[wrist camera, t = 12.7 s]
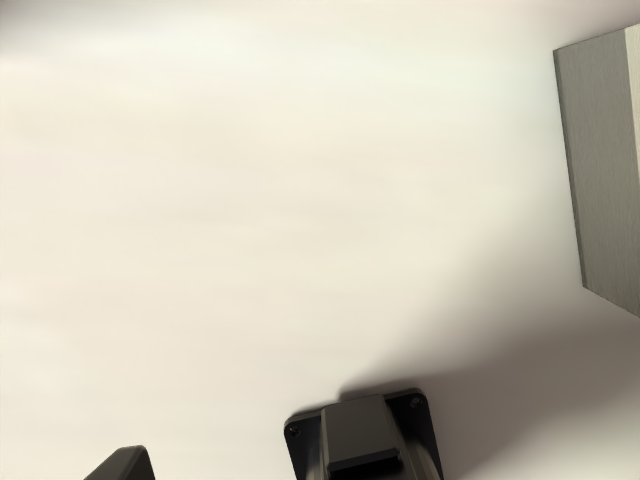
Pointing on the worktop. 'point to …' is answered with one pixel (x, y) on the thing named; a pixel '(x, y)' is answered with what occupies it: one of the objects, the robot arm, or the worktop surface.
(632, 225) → the grey block with hole
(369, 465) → the robot arm
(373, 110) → the worktop surface
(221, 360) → the worktop surface
